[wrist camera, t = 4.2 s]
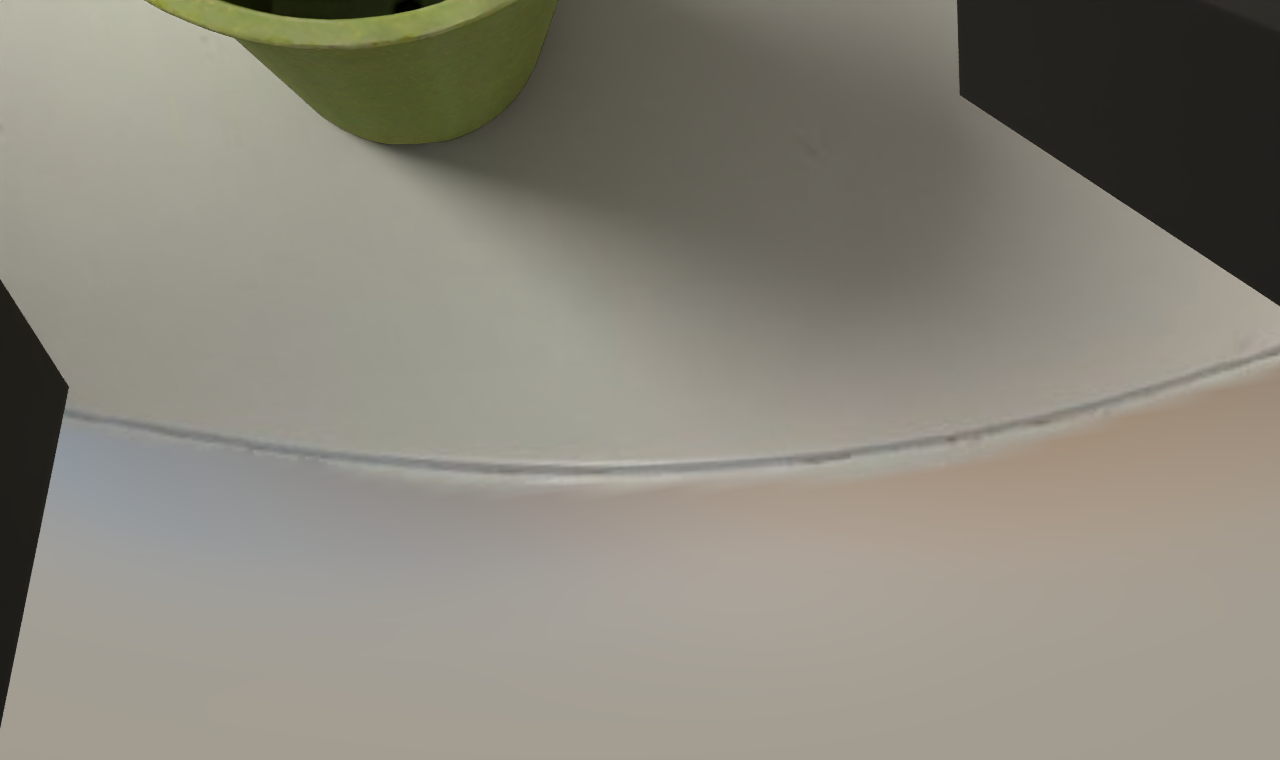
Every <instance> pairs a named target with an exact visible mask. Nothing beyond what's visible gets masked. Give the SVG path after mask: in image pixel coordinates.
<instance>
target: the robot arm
mask: <svg viewBox="0 0 1280 760" xmlns="http://www.w3.org/2000/svg"><path fill="white" fill-rule="evenodd" d="M957 12H958V48H959V85H960V95H961V96H962V97H964V98H965V99H967V100H968V101H970V102H971V103H973V104H974V105H976V106H977V107H979V108H980V109H982V110H983V111H985V112H986V113H988V114H990V115H991V116H993V117H994V118H996V119H997V120H999V121H1000V122H1002V123H1003V124H1005V125H1006V126H1008V127H1009V128H1011V129H1012V130H1014V131H1015V132H1017V133H1018V134H1020V135H1021V136H1023V137H1024V138H1026V139H1027V140H1029V141H1030V142H1032V143H1033V144H1035V145H1036V146H1038V147H1040V148H1041V149H1043V150H1044V151H1046V152H1047V153H1049V154H1050V155H1052V156H1053V157H1055V158H1056V159H1058V160H1059V161H1061V162H1062V163H1064V164H1065V165H1067V166H1068V167H1070V168H1071V169H1073V170H1074V171H1076V172H1077V173H1079V174H1080V175H1082V176H1083V177H1085V178H1087V179H1088V180H1090V181H1091V182H1093V183H1094V184H1096V185H1097V186H1099V187H1100V188H1102V189H1103V190H1105V191H1106V192H1108V193H1109V194H1111V195H1112V196H1114V197H1115V198H1117V199H1118V200H1120V201H1121V202H1123V203H1124V204H1126V205H1127V206H1129V207H1130V208H1132V209H1133V210H1135V211H1137V212H1138V213H1140V214H1141V215H1143V216H1144V217H1146V218H1147V219H1149V220H1150V221H1152V222H1153V223H1155V224H1156V225H1158V226H1159V227H1161V228H1162V229H1164V230H1165V231H1167V232H1168V233H1170V234H1171V235H1173V236H1174V237H1176V238H1177V239H1179V240H1180V241H1182V242H1183V243H1185V244H1187V245H1188V246H1190V247H1191V248H1193V249H1194V250H1196V251H1197V252H1199V253H1200V254H1202V255H1203V256H1205V257H1206V258H1208V259H1209V260H1211V261H1212V262H1214V263H1215V264H1217V265H1218V266H1220V267H1221V268H1223V269H1224V270H1226V271H1227V272H1229V273H1230V274H1232V275H1233V276H1235V277H1237V278H1238V279H1240V280H1241V281H1243V282H1244V283H1246V284H1247V285H1249V286H1250V287H1252V288H1253V289H1255V290H1256V291H1258V292H1259V293H1261V294H1262V295H1264V296H1265V297H1267V298H1268V299H1270V300H1271V301H1273V302H1274V303H1276V304H1277V305H1279V306H1280V0H957ZM68 389H69V386H68V385H67V383H66V382H65V380H64V378H63V377H62V375H61V374H60V372H59V371H58V369H57V367H56V366H55V364H54V363H53V361H52V360H51V358H50V356H49V355H48V353H47V352H46V350H45V349H44V347H43V345H42V344H41V342H40V341H39V339H38V338H37V336H36V334H35V333H34V331H33V330H32V328H31V327H30V325H29V324H28V322H27V320H26V319H25V317H24V316H23V314H22V313H21V311H20V309H19V308H18V306H17V305H16V303H15V302H14V300H13V298H12V297H11V295H10V294H9V292H8V291H7V289H6V287H5V286H4V284H3V283H2V281H1V280H0V726H1V721H2V716H3V711H4V706H5V701H6V696H7V692H8V687H9V682H10V676H11V672H12V667H13V661H14V657H15V652H16V647H17V642H18V637H19V632H20V627H21V622H22V617H23V612H24V607H25V602H26V597H27V592H28V587H29V582H30V577H31V572H32V567H33V563H34V558H35V553H36V548H37V543H38V538H39V533H40V528H41V523H42V517H43V513H44V508H45V503H46V498H47V493H48V488H49V483H50V478H51V473H52V468H53V463H54V458H55V453H56V448H57V443H58V439H59V434H60V429H61V424H62V419H63V414H64V409H65V404H66V399H67V394H68Z"/></svg>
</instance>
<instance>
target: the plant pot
mask: <svg viewBox="0 0 1280 760" xmlns="http://www.w3.org/2000/svg"><path fill="white" fill-rule="evenodd" d="M145 1H147V2H148V3H150V4H152V5H154V6H155V7H157V8H159V9H161V10H162V11H164V12H166V13H169V14H171V15H173V16H176V17H178V18H180V19H183V20H185V21H187V22H190V23H192V24H195V25H197V26H200V27H203V28H205V29H208V30H210V31H213V32H217V33H220V34H223V35H226V36H229V37H233V38H235V39H236V40H237V41H238V42H239V43H240V44H242V45H243V46H244V47H245V48H246V49H247V50H248V51H249V52H250V53H252V54H253V55H254V56H255V57H256V58H257V59H258V60H259V61H261V62H262V63H263V64H264V65H265V66H266V67H267V68H268V69H269V70H271V71H272V72H273V73H274V74H275V75H276V76H277V77H278V78H280V79H281V80H282V81H283V82H284V83H285V84H286V85H287V86H288V87H290V88H291V89H292V90H293V91H294V92H295V93H296V94H297V95H299V96H300V97H301V98H302V99H303V100H304V101H305V102H306V103H307V104H309V105H310V106H311V107H312V108H313V109H314V110H315V111H316V112H318V113H319V114H320V115H321V116H322V117H324V118H325V119H327V120H328V121H329V122H331V123H333V124H334V125H336V126H338V127H339V128H341V129H343V130H345V131H347V132H349V133H352V134H354V135H356V136H358V137H361V138H364V139H367V140H371V141H374V142H379V143H385V144H419V143H431V142H439V141H446V140H452V139H455V138H458V137H461V136H463V135H465V134H467V133H470V132H472V131H474V130H475V129H477V128H479V127H481V126H483V125H484V124H486V123H487V122H489V121H490V120H492V119H493V118H494V117H496V116H497V115H498V114H500V113H501V112H502V111H503V110H504V109H505V108H507V107H508V106H509V104H510V103H511V102H512V101H513V100H514V99H515V97H516V96H517V95H518V94H519V92H520V91H521V90H522V88H523V87H524V85H525V84H526V82H527V80H528V78H529V76H530V74H531V72H532V70H533V69H534V66H535V64H536V62H537V59H538V57H539V54H540V51H541V48H542V45H543V42H544V39H545V37H546V34H547V31H548V28H549V25H550V22H551V19H552V16H553V13H554V10H555V7H556V5H557V2H558V0H413V1H416V2H417V3H419V4H420V6H421V7H422V8H420V9H417V10H412V11H407V12H402V13H397V14H395V8H396V7H397V5H398V4H399V3H401V2H403V1H406V0H145Z"/></svg>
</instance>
